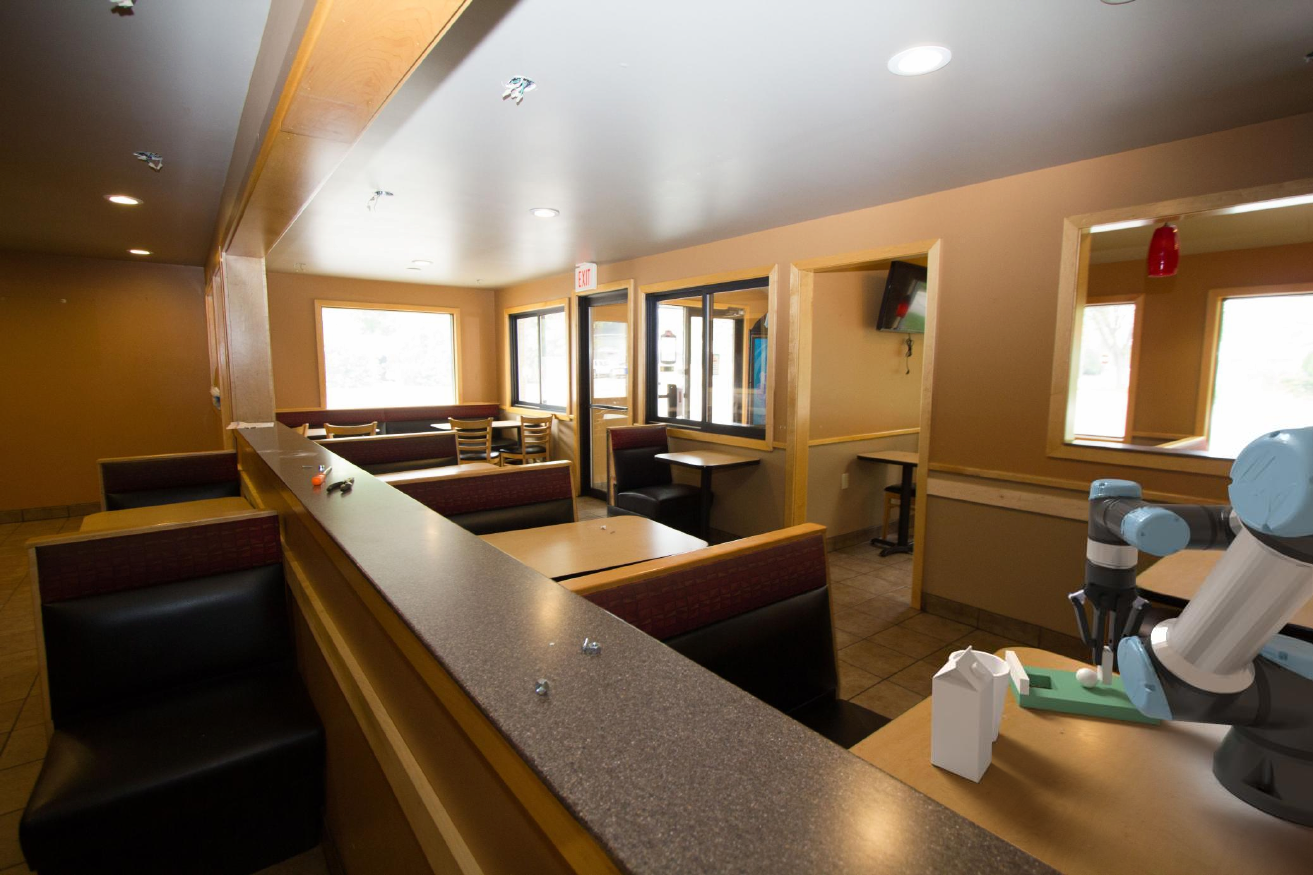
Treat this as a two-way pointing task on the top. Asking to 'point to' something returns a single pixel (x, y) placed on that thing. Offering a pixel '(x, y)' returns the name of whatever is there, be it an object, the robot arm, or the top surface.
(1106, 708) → the putting board
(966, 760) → the milk carton
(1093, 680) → the golf ball
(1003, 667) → the foam cup
